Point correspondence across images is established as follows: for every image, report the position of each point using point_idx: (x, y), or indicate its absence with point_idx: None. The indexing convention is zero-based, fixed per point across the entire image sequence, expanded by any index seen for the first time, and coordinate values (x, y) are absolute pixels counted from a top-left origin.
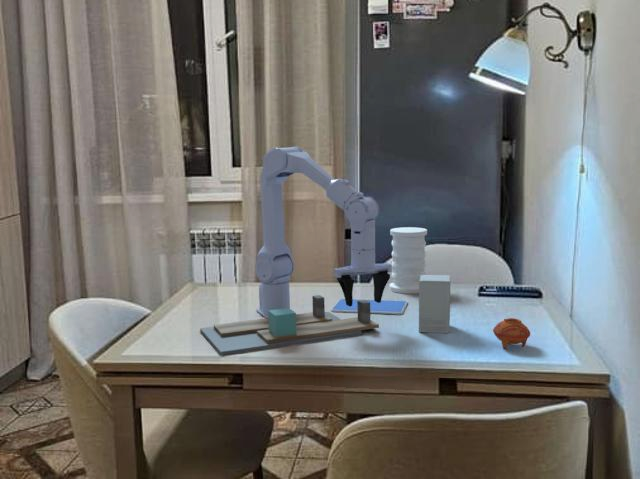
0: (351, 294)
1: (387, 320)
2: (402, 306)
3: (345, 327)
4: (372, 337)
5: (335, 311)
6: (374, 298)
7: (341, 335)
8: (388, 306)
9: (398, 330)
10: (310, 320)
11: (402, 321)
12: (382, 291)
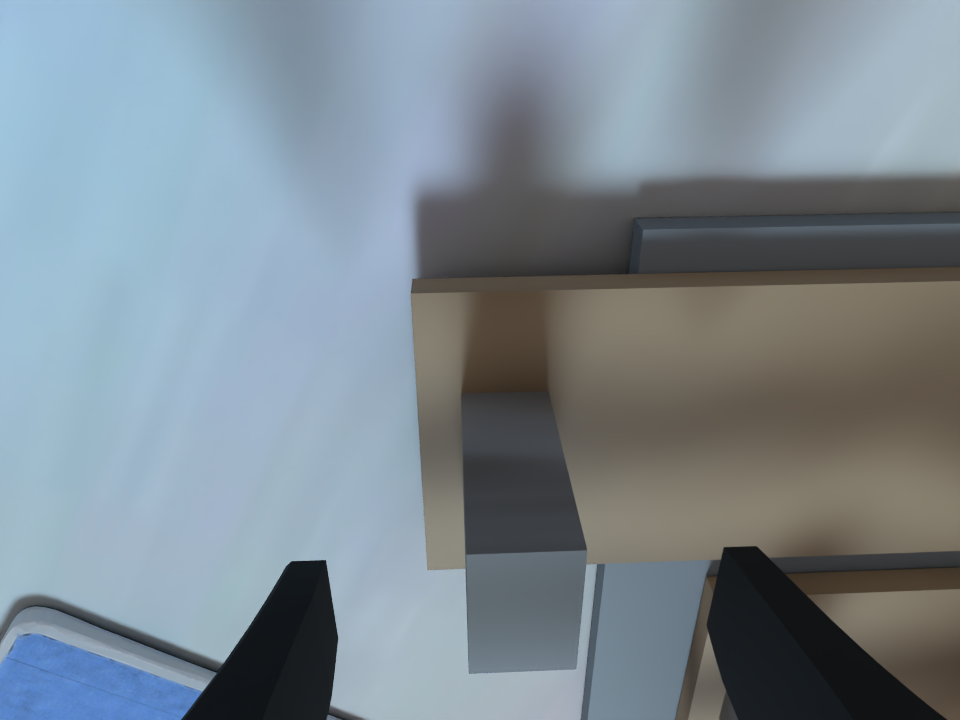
0: (839, 677)
1: (204, 519)
2: None
3: (781, 338)
4: (578, 91)
5: None
6: (333, 668)
7: (875, 222)
8: None
9: (202, 207)
10: (890, 619)
11: (72, 450)
12: (220, 690)
